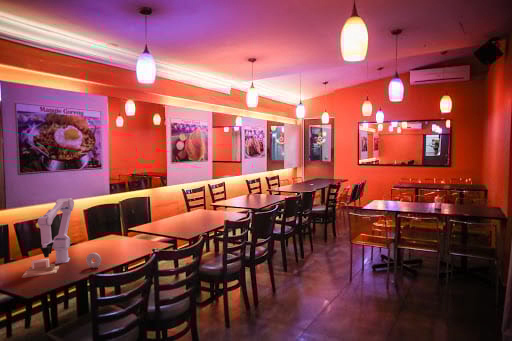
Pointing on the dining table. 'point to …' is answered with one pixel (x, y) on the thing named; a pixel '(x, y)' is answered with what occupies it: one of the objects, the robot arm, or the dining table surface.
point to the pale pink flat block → (40, 263)
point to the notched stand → (41, 271)
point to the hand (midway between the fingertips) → (47, 255)
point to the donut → (97, 258)
